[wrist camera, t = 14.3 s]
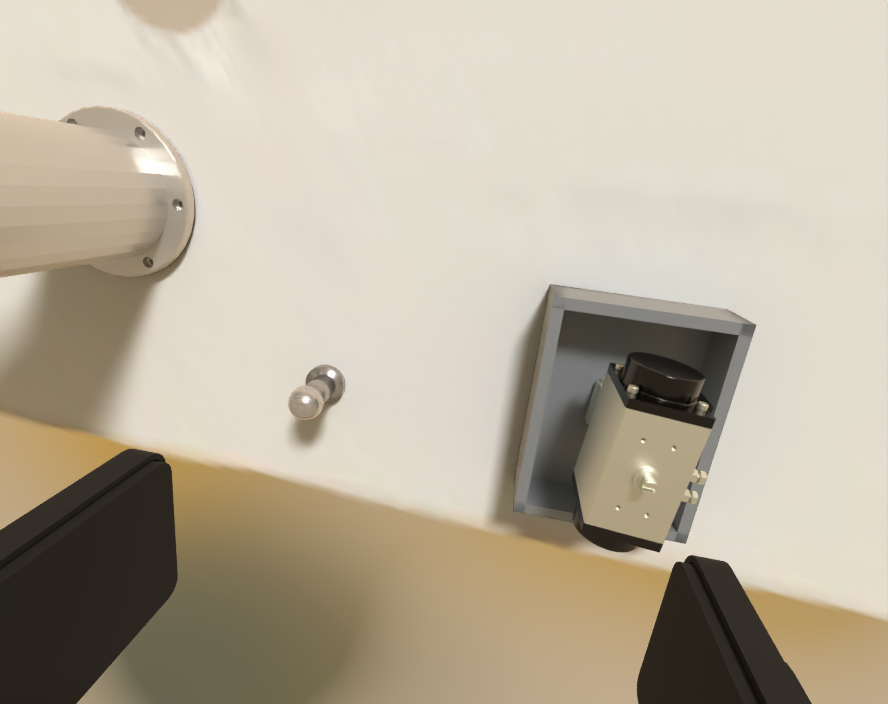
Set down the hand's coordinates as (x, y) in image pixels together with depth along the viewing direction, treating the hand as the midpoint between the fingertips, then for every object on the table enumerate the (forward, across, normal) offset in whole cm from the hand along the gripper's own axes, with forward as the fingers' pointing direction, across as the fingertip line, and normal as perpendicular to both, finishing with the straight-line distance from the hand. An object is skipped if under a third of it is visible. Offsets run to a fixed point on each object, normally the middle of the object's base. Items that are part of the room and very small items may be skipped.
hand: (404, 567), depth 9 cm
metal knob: (+30, +12, +10) cm, 34 cm away
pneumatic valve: (+30, -11, +8) cm, 33 cm away
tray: (+30, -10, +8) cm, 33 cm away
